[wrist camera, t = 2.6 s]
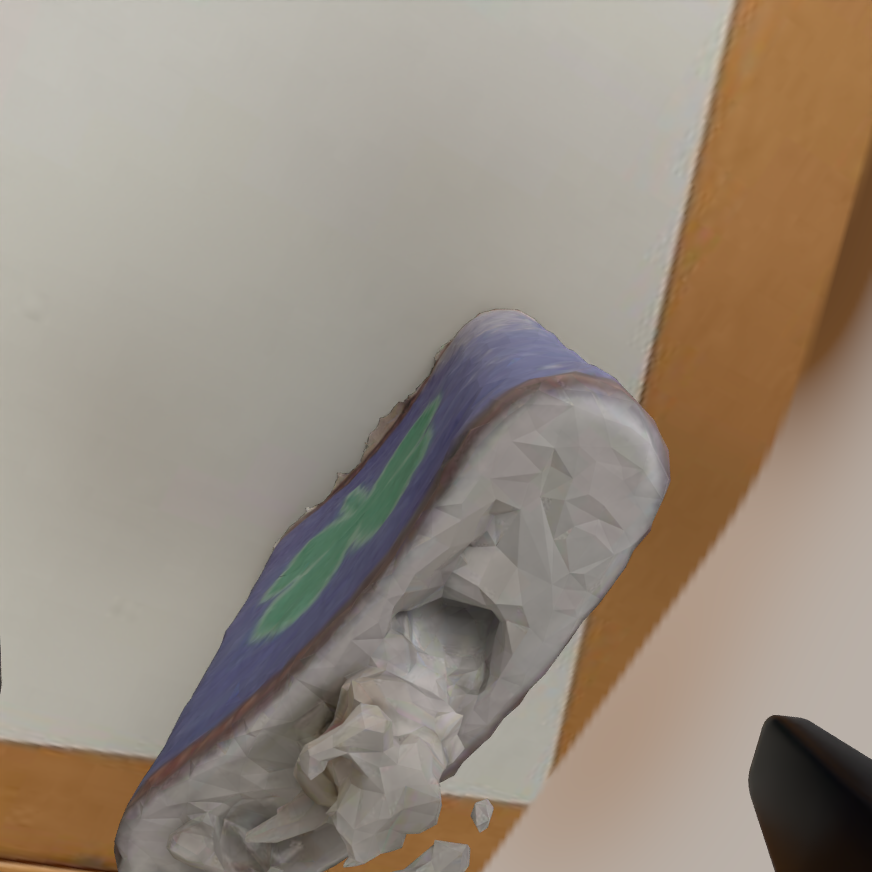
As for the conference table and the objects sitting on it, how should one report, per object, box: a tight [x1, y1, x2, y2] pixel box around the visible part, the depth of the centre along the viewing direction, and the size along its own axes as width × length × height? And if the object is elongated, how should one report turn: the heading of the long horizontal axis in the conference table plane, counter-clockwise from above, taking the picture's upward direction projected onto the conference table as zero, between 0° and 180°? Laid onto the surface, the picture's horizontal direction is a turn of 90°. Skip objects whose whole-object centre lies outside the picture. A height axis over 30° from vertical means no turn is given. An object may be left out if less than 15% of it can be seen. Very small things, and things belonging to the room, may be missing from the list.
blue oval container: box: [114, 309, 670, 872], centre depth 12 cm, size 9×3×11 cm, turn 139°
